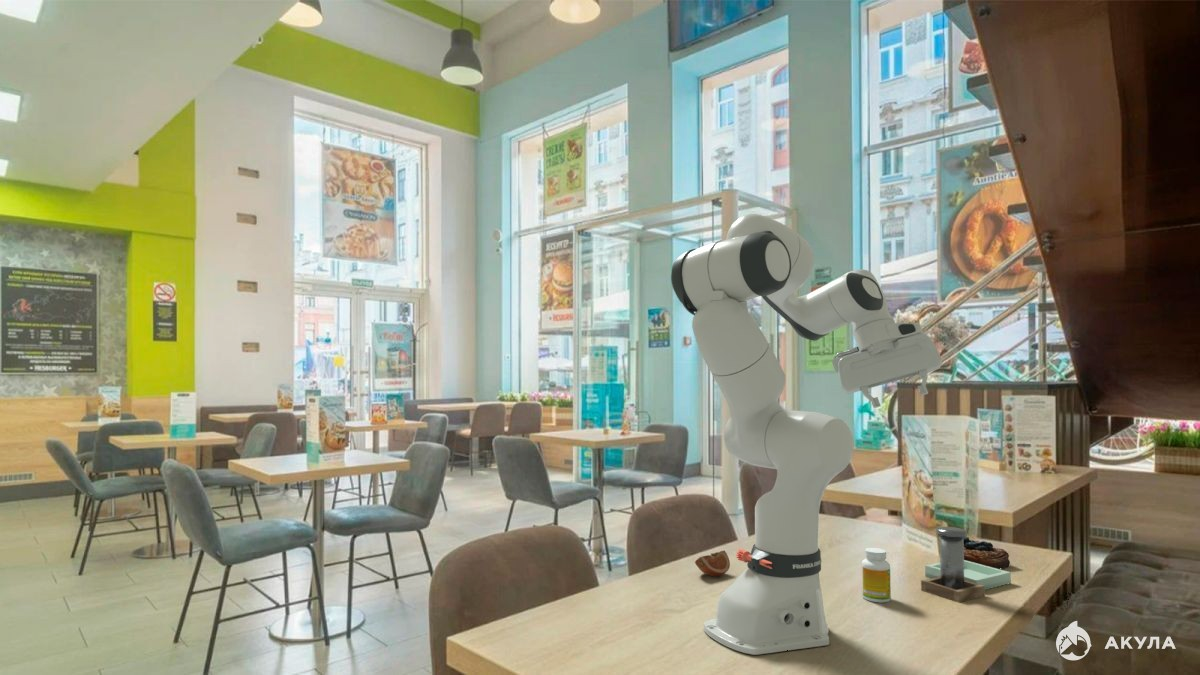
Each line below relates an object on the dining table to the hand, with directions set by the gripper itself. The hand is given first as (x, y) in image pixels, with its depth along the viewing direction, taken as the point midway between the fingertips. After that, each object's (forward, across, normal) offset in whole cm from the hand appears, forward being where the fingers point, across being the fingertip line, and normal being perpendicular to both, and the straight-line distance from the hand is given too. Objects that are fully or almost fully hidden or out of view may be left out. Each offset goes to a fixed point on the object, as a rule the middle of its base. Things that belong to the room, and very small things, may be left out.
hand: (900, 400), depth 141 cm
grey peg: (+37, -3, +18) cm, 42 cm away
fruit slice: (+25, -50, +8) cm, 56 cm away
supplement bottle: (+36, -17, +8) cm, 41 cm away
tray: (+35, +2, +29) cm, 46 cm away
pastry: (+32, +6, +45) cm, 56 cm away
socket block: (+37, -3, +18) cm, 42 cm away
